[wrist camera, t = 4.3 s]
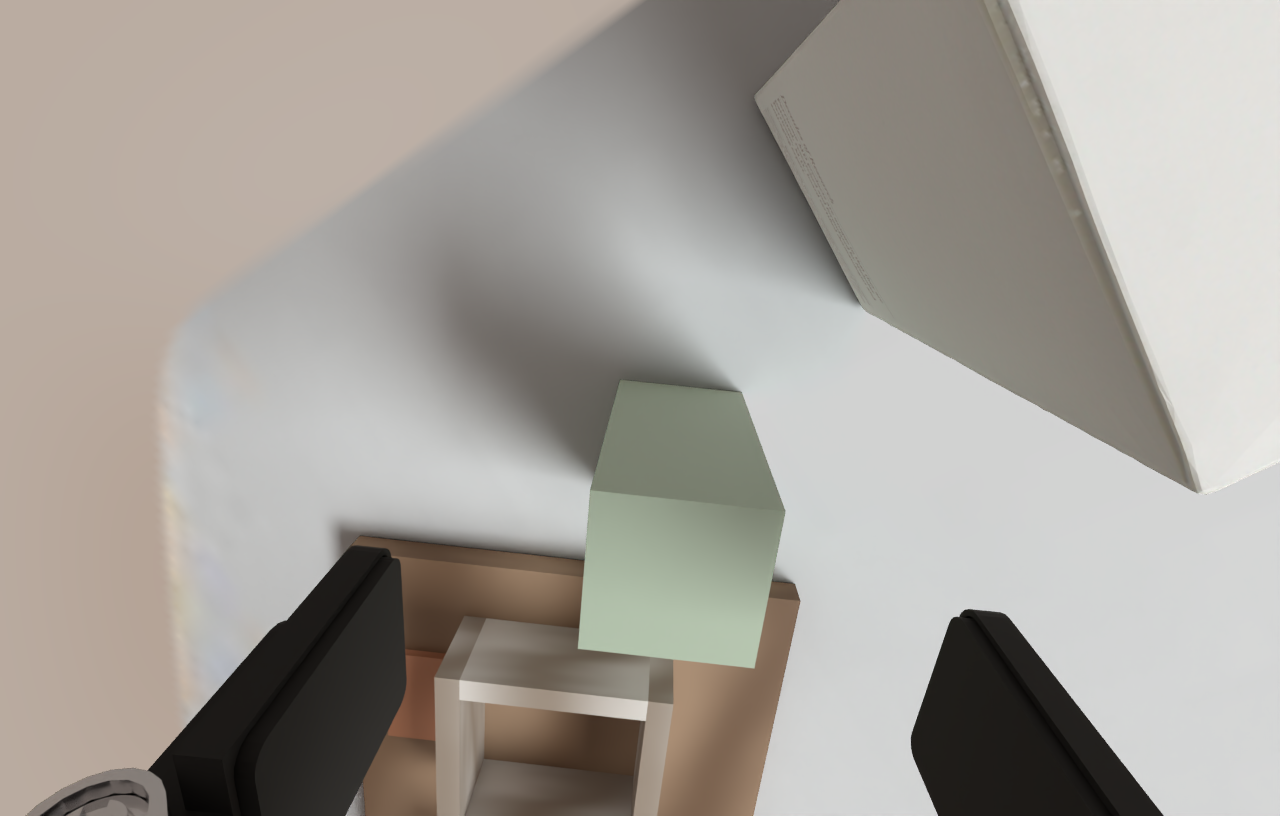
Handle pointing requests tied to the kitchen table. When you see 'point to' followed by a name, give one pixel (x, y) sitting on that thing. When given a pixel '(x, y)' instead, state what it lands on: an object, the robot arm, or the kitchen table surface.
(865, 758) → the kitchen table surface
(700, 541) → the plug
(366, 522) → the kitchen table surface
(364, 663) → the robot arm
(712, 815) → the socket board
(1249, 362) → the supplement box
